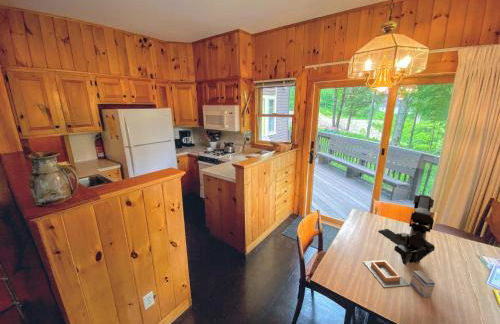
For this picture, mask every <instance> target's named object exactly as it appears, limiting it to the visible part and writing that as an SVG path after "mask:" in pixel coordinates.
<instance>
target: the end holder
mask: <svg viewBox="0 0 500 324" xmlns="http://www.w3.org/2000/svg"><path fill="white" fill-rule="evenodd" d="M362 263H363V264H364V265H365V266H366V268H367V269H368V270H369V271H370V273H371V274H372V275H373V276H374V278H375V279H376V280H377V281H378V283H379V284H381V286H382V287H383V288H384V289H385V288H397V287H398V288H401V287H409V286H411V285H410V283H408V281H406V279H405V278H404V277H403V276H402V275H401V274H400V273H399V272H398V271H397V270H396V269H395V268H394V267H393V266H392V265H391V264H390V263H389V262H388V261H387V260H386V259H380V260H379V259H377V260H364V261H362Z"/></svg>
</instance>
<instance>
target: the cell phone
mask: <svg viewBox="0 0 500 324" xmlns="http://www.w3.org/2000/svg"><path fill="white" fill-rule="evenodd" d="M378 233H379V234H381V235H382V236H384V237H385V238H387V239H388V240H390V241H391V242H393V243H395V245H396V246H398V245H404V242H403V241H398V240H396V239H395V235H396V234H397V233H395V232H393V231H392V230H391V229H389V228H386V229H380V230H378Z"/></svg>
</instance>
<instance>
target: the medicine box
mask: <svg viewBox="0 0 500 324" xmlns="http://www.w3.org/2000/svg"><path fill="white" fill-rule="evenodd" d="M409 285H410V286H411V287H412V289H414V290H415V291H416V292H417V293H418V294H419V295H420V296H422V298H431V297H432V296H433V292H434V289H435V285H436V283H435V282H434V280H432V279H431V278H430V277H429V276H428V275H426V274H425V272H423V271H422V270H413V272H412V275H411V278H410V283H409Z"/></svg>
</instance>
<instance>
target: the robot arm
mask: <svg viewBox="0 0 500 324" xmlns="http://www.w3.org/2000/svg"><path fill="white" fill-rule="evenodd" d="M434 203H435V200H434V199H433V198H432V197H431V196H429V195H425V194H419V195H415V196H414V199H413V202H412V204H413V205H414V206H413V209H414V211H412V212H411V216H410V220H409V224H408V227H411V228H410V232H409V233H406V232H400V233H399V232H397V233H395V234H396V235H395V239H396V240H398V241H403V242H404V245H395V246H394V249H393V250H394V252H396V253H397V254H399V255H400V258H401V262H402V264H403V265H404V266H406V265H407V263H410V264H411V263H420V262H421V261H422V260H423V259H424V258H425V257H427V256H428V255H430V254H431V253H432V252H434V251H435V249H436V247H435V245H434V244H432V243H431V242H430V241H428V240H427V238H426V237H427V233H431V230H433V227H434V222H435V220H434V218H433V216H432V212H431V209H432V208H434Z"/></svg>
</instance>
